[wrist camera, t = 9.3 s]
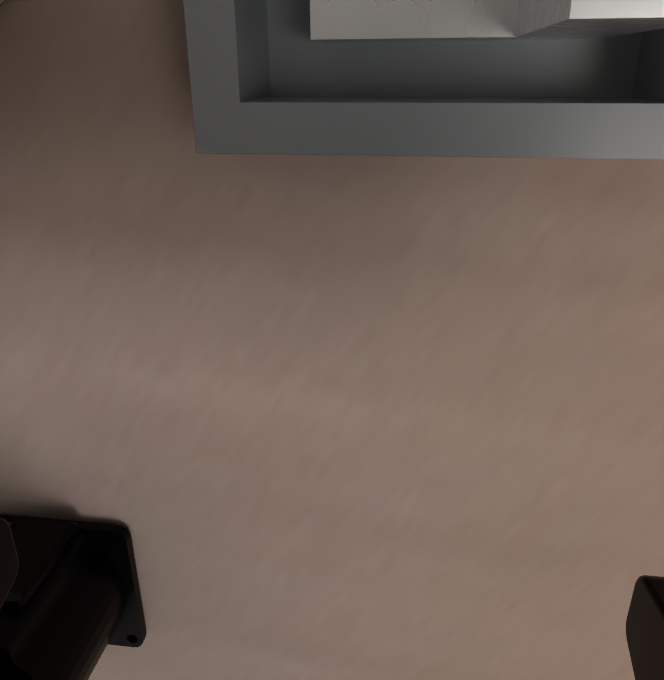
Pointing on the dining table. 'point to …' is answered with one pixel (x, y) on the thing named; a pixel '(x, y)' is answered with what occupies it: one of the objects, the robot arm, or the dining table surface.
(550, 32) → the bracket
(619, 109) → the bin
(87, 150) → the dining table surface
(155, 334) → the dining table surface
